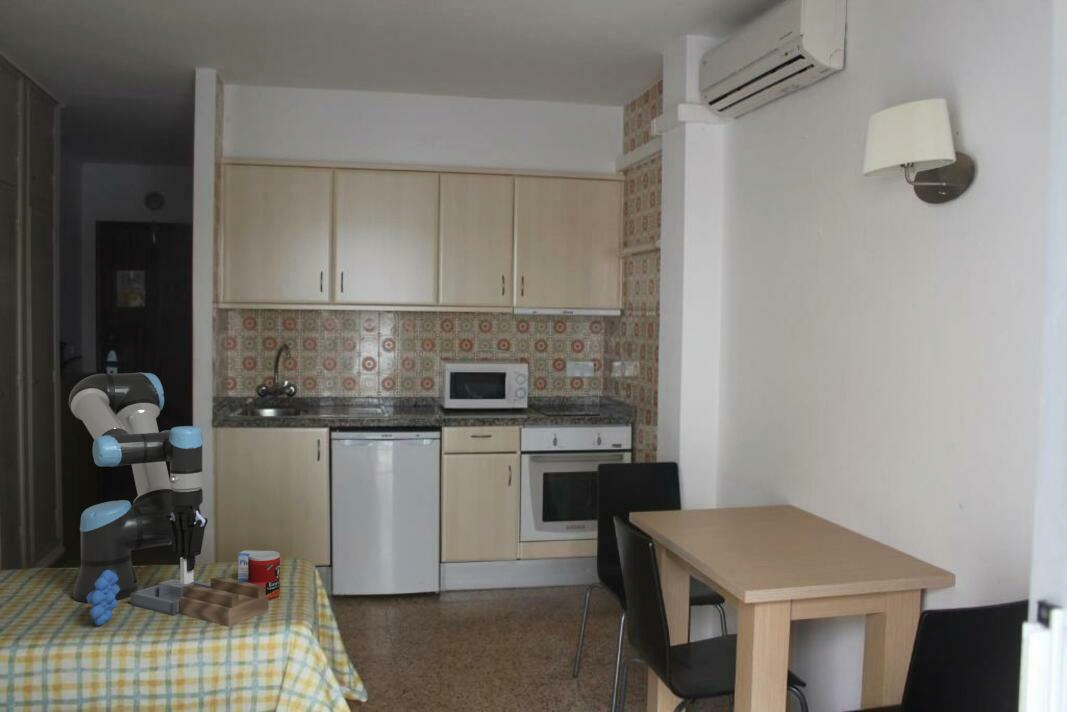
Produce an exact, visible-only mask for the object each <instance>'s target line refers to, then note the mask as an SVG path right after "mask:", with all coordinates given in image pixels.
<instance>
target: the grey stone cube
mask: <svg viewBox="0 0 1067 712" xmlns="http://www.w3.org/2000/svg"><path fill="white" fill-rule="evenodd" d="M179 582H180V580H177V579H174V578H171V579H169V580H165V581H161V582H158V585H159V598H163V599H167V600H170V585H173V584H176V583H179Z"/></svg>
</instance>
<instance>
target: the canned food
mask: <svg viewBox="0 0 1067 712" xmlns="http://www.w3.org/2000/svg"><path fill="white" fill-rule="evenodd" d="M257 551H258V552H254V553H251V554H249V556H248V583H251V584H256V585H261V586H265V595H268V601H271V600H272V599H273V600H275V599H278V597H280V594H281V555H280V552H278V551H275V550H257ZM273 600H272V601H273Z"/></svg>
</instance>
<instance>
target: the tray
mask: <svg viewBox="0 0 1067 712" xmlns="http://www.w3.org/2000/svg"><path fill="white" fill-rule="evenodd" d="M176 580H180V578H178V579H176ZM191 583H193V584H194V585H196V586H200V587H205V588H211V583H206V582H202V581H197V580H194V582H191ZM130 605H131V606H134V607H137V608H142V609H146V610H149V611H153V612H158V613H160V614H161V613H162V614H165V615H169V616H177V615H181V614H180V599H179V600H176V601H172V600H167V599H163V598H159V584H157V585H154V586H150V587H146V588H143V589H139V590H138V591H136V592H132V593H131V596H130Z"/></svg>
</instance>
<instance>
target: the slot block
mask: <svg viewBox="0 0 1067 712" xmlns="http://www.w3.org/2000/svg"><path fill="white" fill-rule="evenodd" d="M210 584H211V588H205V587H200V586H196V585H191V584H190V585H186V586H183V597H181V598H180V614H179V615H182V616H186V617H189V618H193V619H197V620H202V621H204V622H205V621H206V622H209V623H212V624H213V623H214V624H218V625H221V626H226V627H231V626H233V625H236V624H239V623H242V622H244V621H247V620H249V619H252V618H255V616H256V617H259V616H261V615H263V613H264V614H266V613H268V612H269V600H268V595H265V586H261V585H256V584H251V583H247V582H242V581H238V579H233V578H227V577H222V576H219V575H217V576H213V577H210Z"/></svg>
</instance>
